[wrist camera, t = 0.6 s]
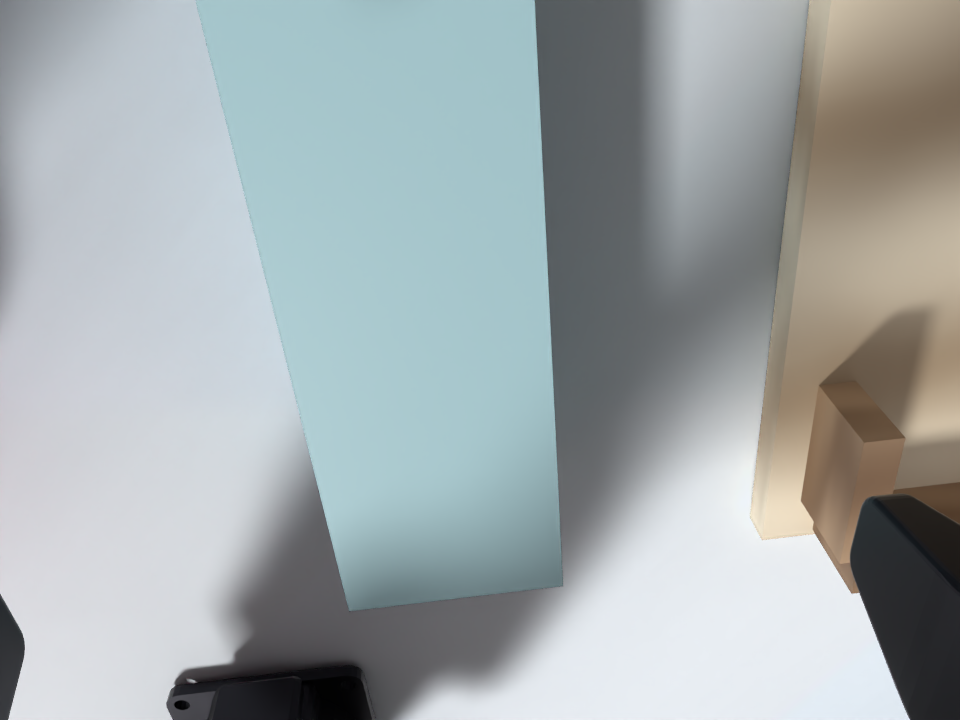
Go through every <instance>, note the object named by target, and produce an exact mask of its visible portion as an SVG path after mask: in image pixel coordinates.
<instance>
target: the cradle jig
mask: <svg viewBox="0 0 960 720" xmlns="http://www.w3.org/2000/svg"><path fill="white" fill-rule="evenodd" d="M898 493H903V494H908V495H911V496H913V497H915V498H917V499H919V500H920V501H922V502H924V503H925V504H927V505H929V506H930V507H932V508H934V509H935V510H937V511H939V512H940V513H942V514H944V515H945V516H947V517H949V518H950V519H952V520H954V521H955V522H957V523H959V524H960V0H810V1H809V10H808V18H807V27H806V35H805V44H804V53H803V61H802V70H801V79H800V87H799V96H798V105H797V113H796V122H795V131H794V139H793V148H792V157H791V165H790V174H789V183H788V191H787V200H786V209H785V217H784V226H783V235H782V243H781V252H780V261H779V269H778V278H777V287H776V295H775V304H774V313H773V321H772V330H771V339H770V347H769V356H768V365H767V373H766V382H765V391H764V399H763V408H762V417H761V425H760V434H759V443H758V451H757V460H756V469H755V477H754V486H753V495H752V503H751V512H750V518H751V520H752V522H753V524H754V526H755V528H756V530H757V532H758V534H759V536H760V538H761V539H762V540H767V539H776V538H785V537H793V536H802V535H810V534H816V536H817V538H818V539H819V541H820V543H821V544H822V546H823V548H824V549H825V551H826V552H827V554H828V556H829V557H830V559H831V561H832V562H833V564H834V566H835V567H836V569H837V571H838V572H839V574H840V575H841V577H842V579H843V580H844V582H845V584H846V585H847V587H848V589H849V590H850V592H851V593H859V590H858V588H857V585H856V583H855V580H854V577H853V574H852V571H851V567H850V549H851V545H852V541H853V537H854V533H855V529H856V525H857V521H858V517H859V513H860V509H861V506H862V504H863V502H864V501H865V500H866V499H867V498H868V497H871V496H877V495H888V494H898Z"/></svg>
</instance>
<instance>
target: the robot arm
mask: <svg viewBox="0 0 960 720" xmlns="http://www.w3.org/2000/svg"><path fill="white" fill-rule="evenodd" d="M850 567H851V571H852V574H853V577H854V580H855V583H856V585H857V588H858V590H859V593H860V596H861V598H862V601H863V603H864V606H865V608H866V611H867V614H868V616H869V619H870V621H871V624H872V627H873V629H874V632H875V634H876V637H877V640H878V642H879V645H880V647H881V650H882V652H883V655H884V658H885V660H886V663H887V665H888V668H889V671H890V673H891V676H892V678H893V681H894V684H895V686H896V689H897V691H898V694H899V696H900V698H901V701H902V703H903V705H904V708H905V710H906V712H907V715H908V717H909V719H910V720H960V524H959V523H957V522H955V521H954V520H952V519H950V518H949V517H947V516H945V515H944V514H942V513H940V512H939V511H937V510H935V509H934V508H932V507H930V506H929V505H927V504H925V503H924V502H922V501H920V500H919V499H917V498H915V497H913V496H911V495H908V494H903V493H898V494H888V495H877V496H871V497H868V498H867V499H866V500H865V501H864V502H863V504H862V506H861V509H860V513H859V517H858V521H857V525H856V529H855V533H854V537H853V541H852V545H851V549H850ZM24 651H25V644H24V638H23V634H22V632H21V630H20V628H19V626H18V624H17V623H16V621H15V619H14V617H13V616H12V614H11V612H10V610H9V609H8V607H7V605H6V603H5V601H4V600H3V598H2V596H1V594H0V720H8V718H9V714H10V710H11V706H12V702H13V698H14V694H15V690H16V687H17V683H18V679H19V675H20V671H21V667H22V663H23V659H24ZM166 704H167V708H168V710H169V713H170V715H171V717H172V719H173V720H375V716H374V712H373V708H372V704H371V700H370V696H369V692H368V688H367V684H366V680H365V676H364V673H363V671H362V670H361V669H360V668H358V667H356V666H352V665H346V666H337V667H329V668H320V669H312V670H303V671H295V672H287V673H278V674H270V675H261V676H253V677H245V678H236V679H228V680H219V681H211V682H202V683H194V684H186V685H179V686H175V687H174V688H172V689H171V691H170V693H169V696H168V699H167V703H166Z"/></svg>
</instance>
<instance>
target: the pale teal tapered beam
mask: <svg viewBox="0 0 960 720" xmlns="http://www.w3.org/2000/svg"><path fill="white" fill-rule="evenodd" d="M196 4H197V8H198V12H199V16H200V20H201V24H202V28H203V32H204V36H205V40H206V44H207V48H208V52H209V56H210V60H211V64H212V68H213V72H214V76H215V80H216V84H217V88H218V92H219V96H220V100H221V104H222V108H223V112H224V116H225V120H226V124H227V128H228V132H229V136H230V140H231V144H232V147H233V151H234V155H235V159H236V163H237V167H238V171H239V175H240V179H241V183H242V187H243V191H244V195H245V199H246V203H247V207H248V211H249V215H250V219H251V223H252V227H253V231H254V235H255V239H256V243H257V247H258V251H259V255H260V259H261V263H262V267H263V271H264V275H265V279H266V283H267V287H268V291H269V295H270V299H271V303H272V307H273V311H274V315H275V319H276V323H277V326H278V330H279V334H280V338H281V342H282V346H283V350H284V354H285V358H286V362H287V366H288V370H289V374H290V378H291V382H292V386H293V390H294V394H295V398H296V402H297V406H298V410H299V414H300V418H301V422H302V426H303V430H304V434H305V438H306V442H307V446H308V450H309V454H310V458H311V462H312V466H313V470H314V474H315V478H316V482H317V486H318V490H319V494H320V498H321V502H322V505H323V509H324V513H325V517H326V521H327V525H328V529H329V533H330V537H331V541H332V545H333V549H334V553H335V557H336V561H337V565H338V569H339V573H340V577H341V581H342V585H343V589H344V593H345V597H346V601H347V605H348V609H349V611H357V610H365V609H373V608H382V607H390V606H399V605H407V604H416V603H424V602H433V601H441V600H450V599H458V598H466V597H475V596H483V595H492V594H500V593H509V592H517V591H526V590H534V589H543V588H551V587H560V586H563V575H562V554H561V534H560V513H559V492H558V472H557V451H556V430H555V410H554V389H553V369H552V348H551V327H550V307H549V286H548V265H547V245H546V224H545V203H544V183H543V162H542V141H541V121H540V100H539V79H538V59H537V38H536V18H535V0H196Z"/></svg>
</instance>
